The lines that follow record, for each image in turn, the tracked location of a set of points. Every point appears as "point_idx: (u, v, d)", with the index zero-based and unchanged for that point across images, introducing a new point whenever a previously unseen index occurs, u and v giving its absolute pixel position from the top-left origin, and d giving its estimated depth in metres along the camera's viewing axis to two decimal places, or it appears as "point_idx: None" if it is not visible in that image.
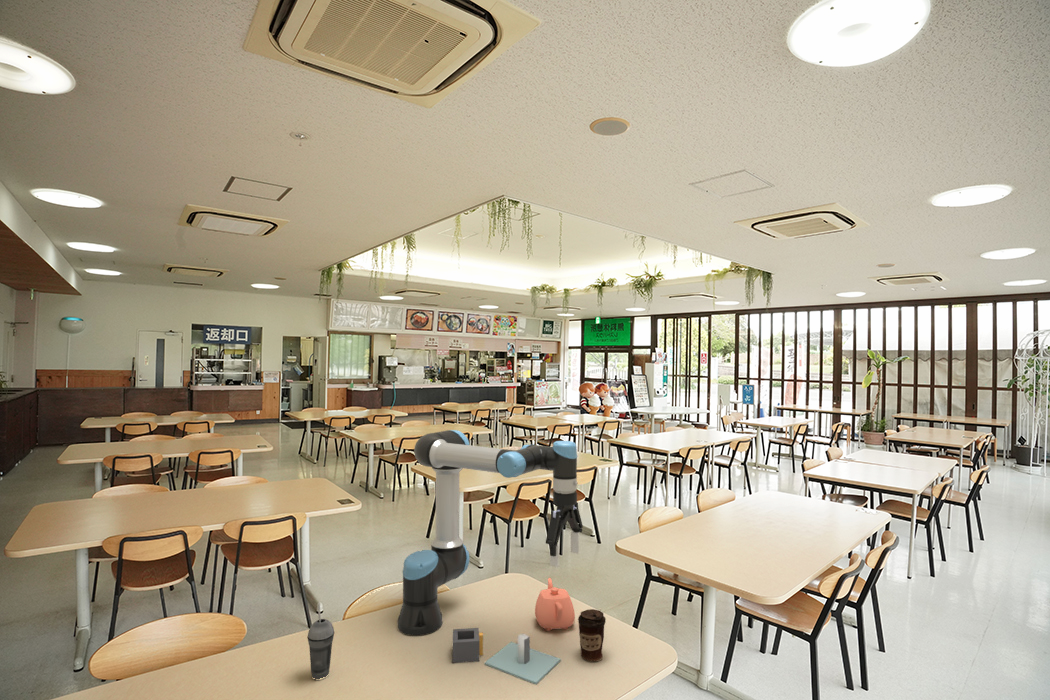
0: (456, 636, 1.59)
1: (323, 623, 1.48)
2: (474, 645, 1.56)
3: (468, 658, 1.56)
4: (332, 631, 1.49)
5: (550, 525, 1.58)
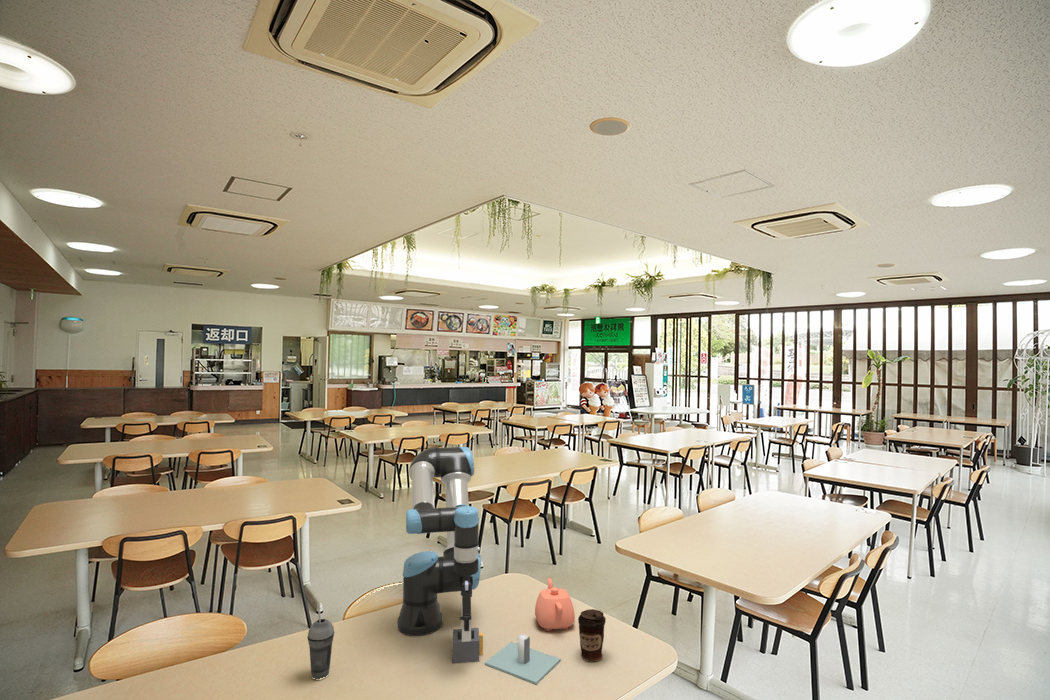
0: (456, 636, 1.59)
1: (323, 623, 1.48)
2: (474, 645, 1.56)
3: (468, 658, 1.56)
4: (332, 631, 1.49)
5: (464, 599, 1.52)
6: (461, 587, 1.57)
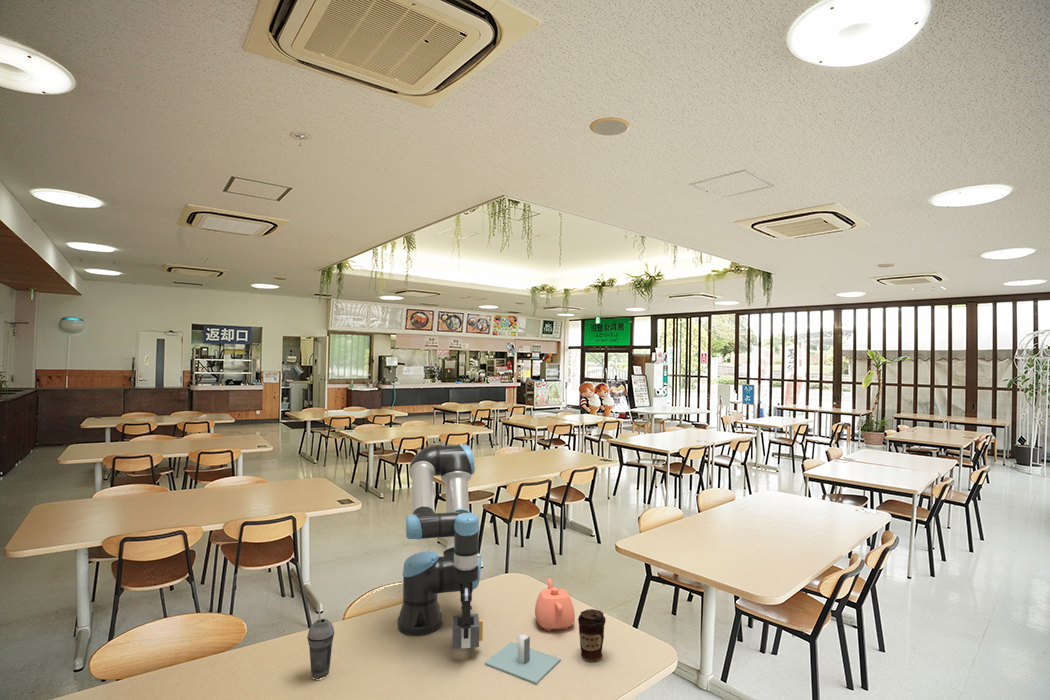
0: (456, 622, 1.59)
1: (323, 623, 1.48)
2: (474, 631, 1.57)
3: None
4: (332, 631, 1.49)
5: (463, 609, 1.53)
6: (461, 595, 1.58)
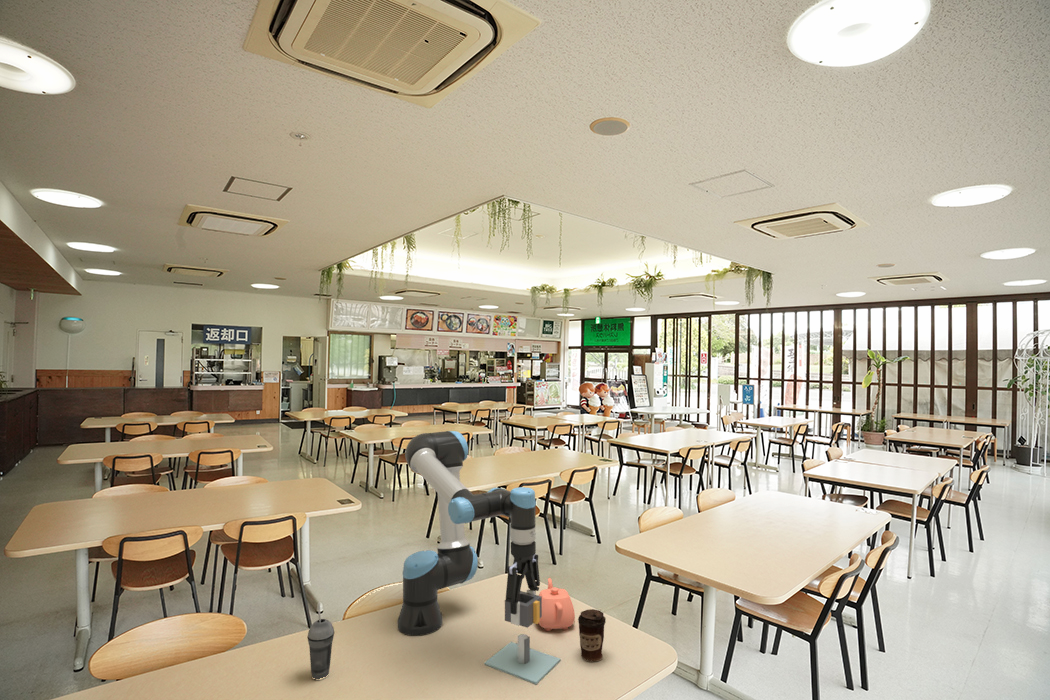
0: None
1: (323, 623, 1.48)
2: (523, 609, 1.51)
3: None
4: (332, 631, 1.49)
5: (508, 582, 1.51)
6: None
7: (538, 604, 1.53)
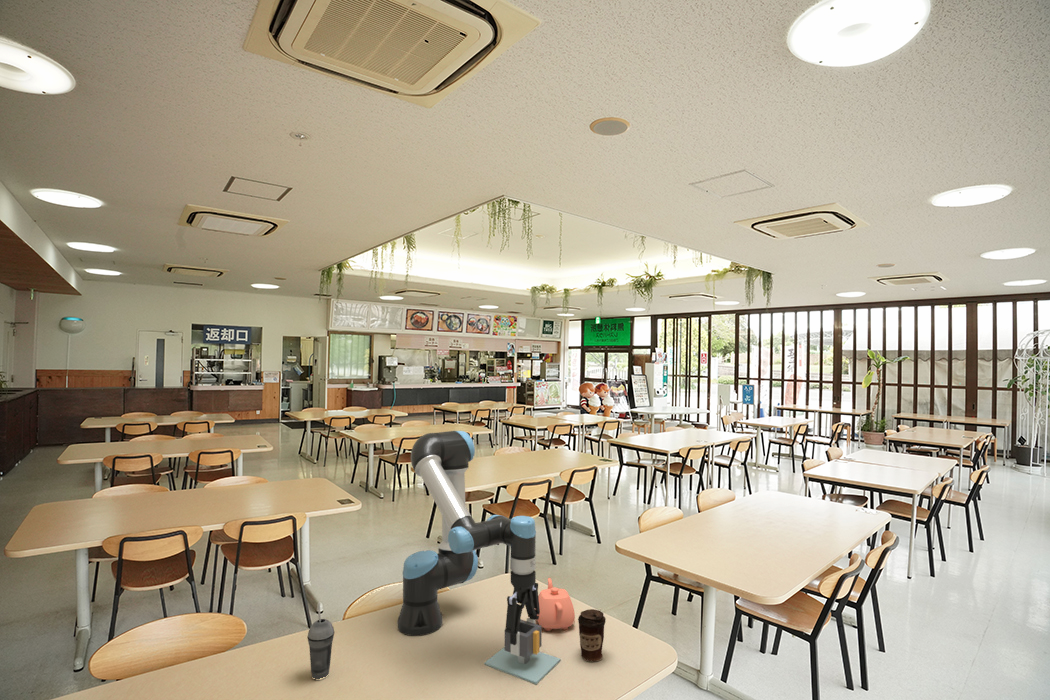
0: None
1: (323, 623, 1.48)
2: (522, 640, 1.51)
3: None
4: (332, 631, 1.49)
5: (508, 613, 1.50)
6: None
7: (538, 634, 1.53)
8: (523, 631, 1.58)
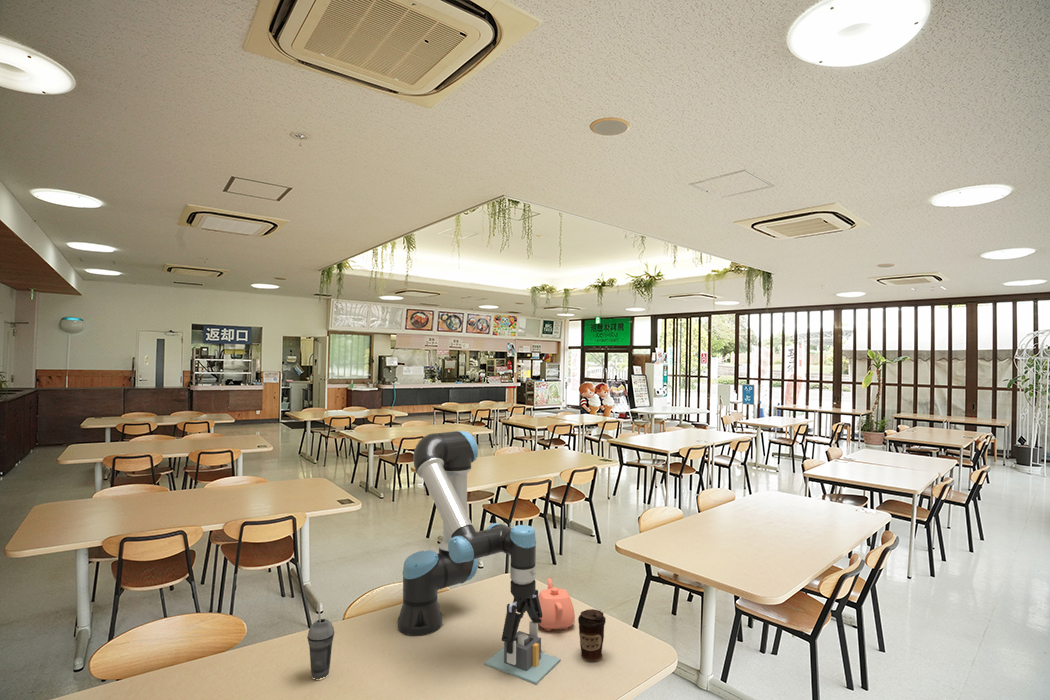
0: None
1: (323, 623, 1.48)
2: (522, 653, 1.51)
3: (517, 664, 1.52)
4: (332, 631, 1.49)
5: (506, 620, 1.50)
6: None
7: (537, 647, 1.53)
8: None
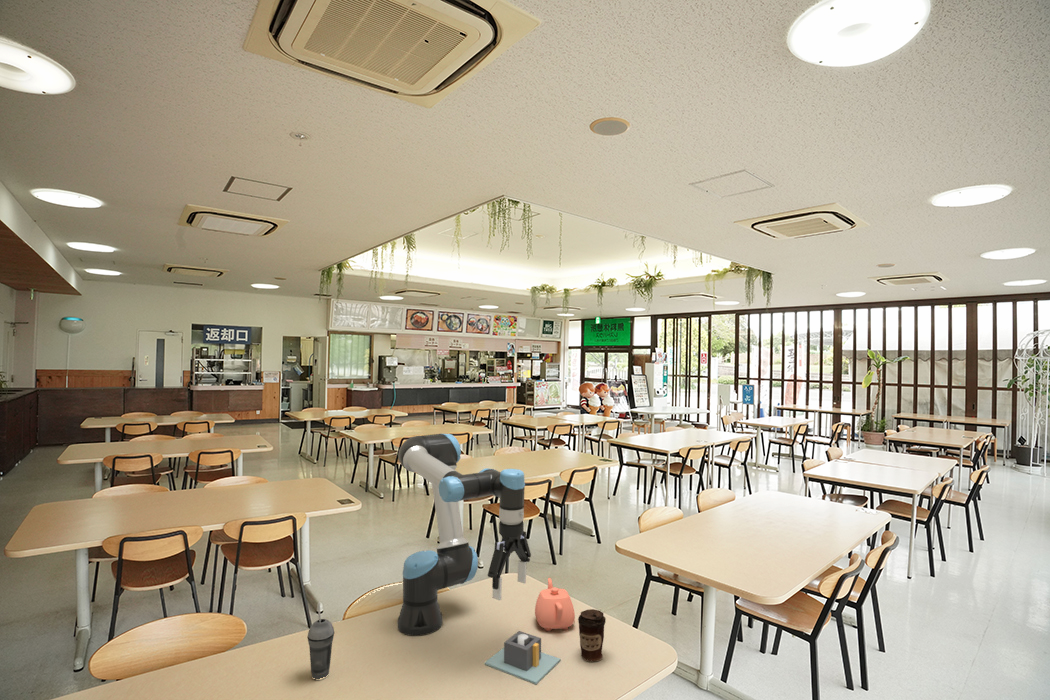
0: (513, 638, 1.57)
1: (323, 623, 1.48)
2: (522, 653, 1.51)
3: (517, 664, 1.52)
4: (332, 631, 1.49)
5: (493, 557, 1.53)
6: None
7: (537, 647, 1.53)
8: None
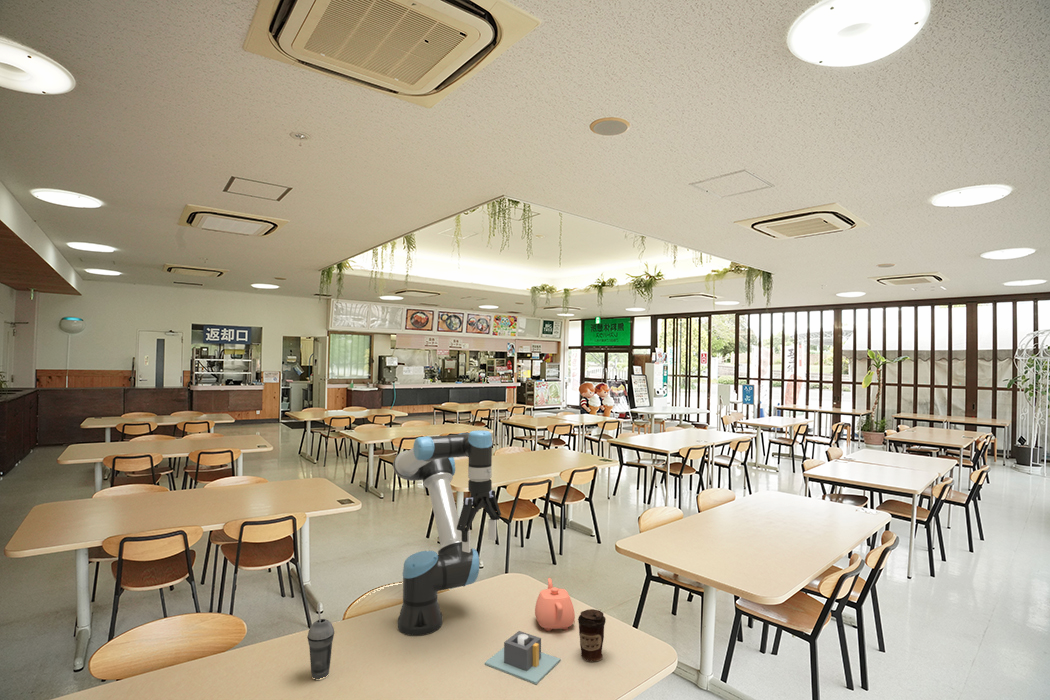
0: (513, 638, 1.57)
1: (323, 623, 1.48)
2: (522, 653, 1.51)
3: (517, 664, 1.52)
4: (332, 631, 1.49)
5: (462, 512, 1.62)
6: None
7: (537, 647, 1.53)
8: None
